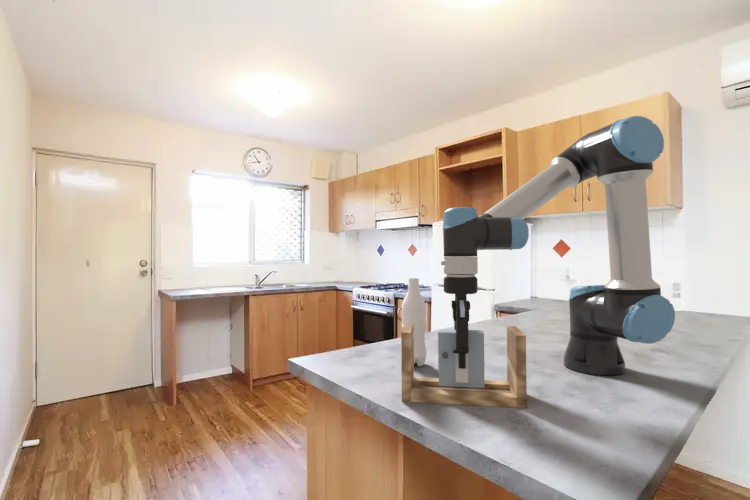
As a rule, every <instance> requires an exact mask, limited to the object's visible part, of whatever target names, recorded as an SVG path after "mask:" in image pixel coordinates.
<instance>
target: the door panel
mask: <svg viewBox="0 0 750 500" xmlns="http://www.w3.org/2000/svg"><path fill="white" fill-rule="evenodd" d="M437 342H438V343H437V349H438V351H437V352H438V356H437V357H438V358H437V359H438V360H437V361H438V374H437V375H438V378H439V386H452V387H475V388H485V384H484V380H485V333H484V331H483V330H480V329H479V330H478V329H476V330H475V329H468V348H469V352H468V383H459V382H456V369H455V353H453V350H456V330H454V329H441V328H438V329H437Z"/></svg>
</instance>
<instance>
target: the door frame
mask: <svg viewBox="0 0 750 500" xmlns="http://www.w3.org/2000/svg"><path fill="white" fill-rule="evenodd" d="M400 336H401V402H406V403H407V402H408V403H422V404H423V403H424V404H425V403H427V404H441V405H442V404H445V405H461V406H462V405H465V406H481V407H500V408H501V407H502V408H503V407H504V408H515V409H516V408H519V409H520V408H521V409H527V407H528V406H527V403H528V402H527V401H528V400H527V399H528V398H527V393H528V392H527V390H528V389H527V335H526V334H525V333H524V332H522V330H520V328H518V327H517V325H506V374H507V375H506V379H507V380H493V379H492V380H491V379H484V384H485V388H475V387H452V386H439V377H425V376H424V377H423V376H422V377H421V376H415V368H414V365H415V364H414V324H405V326H404V328H403V330H402V329H401V335H400Z"/></svg>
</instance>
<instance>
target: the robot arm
mask: <svg viewBox="0 0 750 500" xmlns="http://www.w3.org/2000/svg"><path fill="white" fill-rule="evenodd" d="M664 148H665V139H664V135H663V133H662V131H661V128H660V127H659V126H658V125H657V124H656V123H654V122H653V120H651V119H650V118H648V117H646V116H643V115H633V116H628V117H626V118H622V119H617V120H616V121H614V122H613V123H610V124H607V125H606V126H603V127H601V128H599V129H596V130H594V131H592V132H589V133H586V134H584V135H583V136H582V137H581V138H579V139H577V140H576V141H575V142H573V144H571V145H570V146H568V147H567V148H566V149H565V150H563V151H562V152H561V153H560V154H558V155H556V157H554V158H553V159H551V161H550V165H549V166H548V167H546V168H545V169H543V170H542V171H541V172H539V173H538V174H537V175H535V176H534V177H532V178H531V179H530V180H529V181H528V180H527V182H525V183H524V184H523V185H521V186H520V187H519V188H516V190H514V191H512V193H510V194H509V195H507V196H506V197H505V198H503V199H501V200H500V201H499V202H498V203H496V204H495V205H494V206H492V207H490V208H489V209H488V210H487V211H485V212H484V213H483V214H481V215H478V210H477V208H475V207H472V206H471V207H470V206H459V207H458V206H457V207H455V206H454V207H450V208H446V210H445V211H444V213H443V219H442V220H443V221H442V222H443V223H442V234H443V237H442V239H443V240H442V241H443V259H444V260H441V262H440V264H441V266H443V274H445V275H446V276H444V278H443V291H444V293H445V294H450V295H454V300H451V309H452V320H453V326H454V329H453V330H456V350H453V353H455V369H456V382H459V383H468V352H469V348H468V330H469V321H470V309H471V302H470V301H469V300H468V299H467V295H474V294H477V293H478V290H479V289H478V287H479V286H478V277H477V276H476V275H477V274H478V270H479V269H478V268H479V266H478V263H479V262H478V260H479V259H478V257H479V256H478V251H485V250H486V251H487V250H488V251H491V250H492V251H493V250H509V251H512V250H520V249H522V248H524V247H525V246H526V245H527V243H528V241H529V237H530V236H529V235H530V234H529V231H530V230H529V227H528V226H529V225H528V223H527V222H526V220H525V219H526V218H528V217H529V216H530V215H532V214H533V213H535V212H536V211H537V210H539V209H540V208H541V207H542V206H544V205H546V204H547V203H548V202H549V201H551V200H552V199H553V198H556V196H558V195H559V194H560V193H562V192H563V191H564V190H565V189H569V188H575V187H576V186H578V185H579V184H581V183H582V182H584V181H587V180H588V179H591V178H594V177H597V178H596V179H597V180H598V181H599V182H600V183H602V184H603V186H604V193H605V208H606V209H605V210H606V222H607V223H606V225H607V238H608V239H607V241H608V257H609V271H610V279H609V281H608V282H607V283H606V284H595V285H580V286H579V285H578V286H573V287H572V288H570V291H569V299H568V302H569V341H568V342H567V346H566V349H565V352H564V354H563V366H564V367H566V368H567V369H570V370H573V371H577V372H579V373H584V374H590V375H597V376H618V375H623V374H624V373H626V362H625V359H624V357H623V353H622V351H621V349H620V346H619V343H618V338H621V339H624V340H627V341H630V342H633V343H641V344H648V345H649V344H655V343H659V342H660V341H662V340H664V338H666V337H667V334H669V333H670V332H671V331H672V329H673V327H674V325H675V319H676V311H675V308H674V305H673V304H672V303H671V301H670V300H669V299H668V298H666V297H664V296H663V295H662V292H661V291H662V290H661V285H660V284H659V283H657V282H656V281H655V280H654V279H653V272H652V271H653V270H652V258H651V257H652V255H651V254H652V253H651V243H650V241H651V240H650V225H649V222H650V221H649V212H648V211H649V208H648V196H647V195H648V194H647V193H648V192H647V179H648V178H649V177H650V176H651V175H652V174H653V172H654V168H653V167H654V166H653V162H655V161H656V160H657V159H659V158H660V156H661V154H662V153H663V151H664Z"/></svg>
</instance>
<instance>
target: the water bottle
mask: <svg viewBox="0 0 750 500" xmlns="http://www.w3.org/2000/svg"><path fill="white" fill-rule="evenodd" d="M419 280H420V279H419V278H418V277H417V278H416V277H411V278H408V284H407V292H406V295H405V296H404V298H403V301H402V303H401V307H400V308H401V331H402V330H403V328H404V326H405V324H414V365H415V364H416V366H417V367H419V368H420V367H423V365H424V364H425V361H426V359H427V348H426V341H425V340H426V339H425V338H426V337H425V335H426V330H427V329H426V328H427V319H426V316H427V312H426V311H427V304H426V301H425V300H424V298H423V296H422V294H421V292H420V287H421V286H420V281H419Z"/></svg>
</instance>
